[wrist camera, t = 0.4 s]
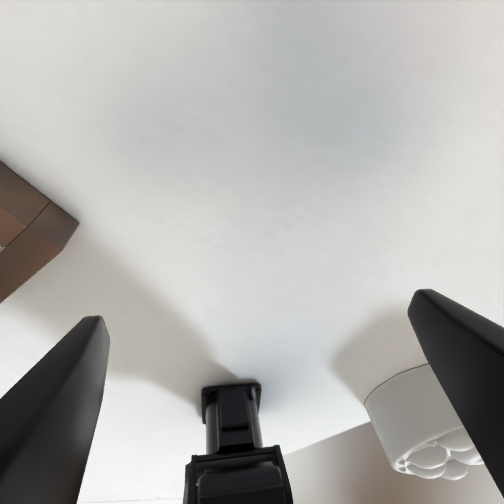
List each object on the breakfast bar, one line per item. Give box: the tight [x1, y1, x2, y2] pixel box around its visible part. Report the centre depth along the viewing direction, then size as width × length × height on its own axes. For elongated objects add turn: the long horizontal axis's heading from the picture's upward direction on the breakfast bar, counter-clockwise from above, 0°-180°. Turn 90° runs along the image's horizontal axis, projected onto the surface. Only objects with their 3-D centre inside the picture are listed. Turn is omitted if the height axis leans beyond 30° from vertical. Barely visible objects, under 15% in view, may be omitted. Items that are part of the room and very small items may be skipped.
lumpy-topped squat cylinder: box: [365, 364, 484, 480], centre depth 38 cm, size 10×13×9 cm
